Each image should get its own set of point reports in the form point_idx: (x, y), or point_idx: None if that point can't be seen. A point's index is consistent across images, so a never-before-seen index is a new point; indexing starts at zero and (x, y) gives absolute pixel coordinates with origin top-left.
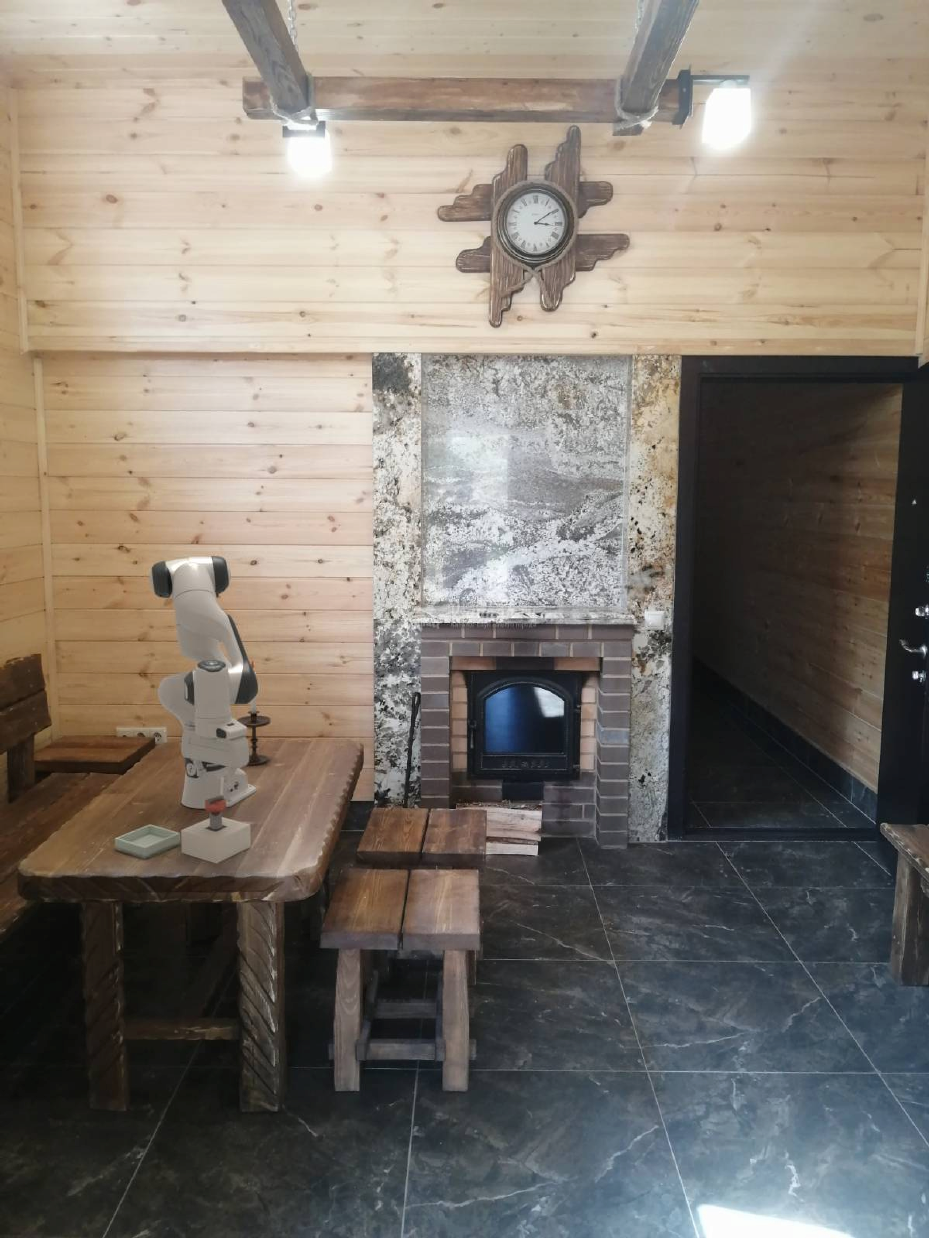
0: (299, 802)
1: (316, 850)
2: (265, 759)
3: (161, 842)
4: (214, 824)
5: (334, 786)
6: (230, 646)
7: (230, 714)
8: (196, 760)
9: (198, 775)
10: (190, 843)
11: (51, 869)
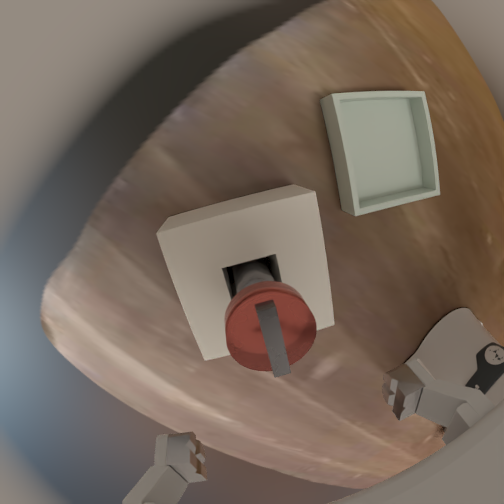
0: (321, 444)
1: (113, 391)
2: (446, 429)
3: (342, 149)
4: (242, 281)
5: (325, 475)
6: None
7: None
8: (467, 421)
9: (405, 365)
10: (266, 196)
11: None
